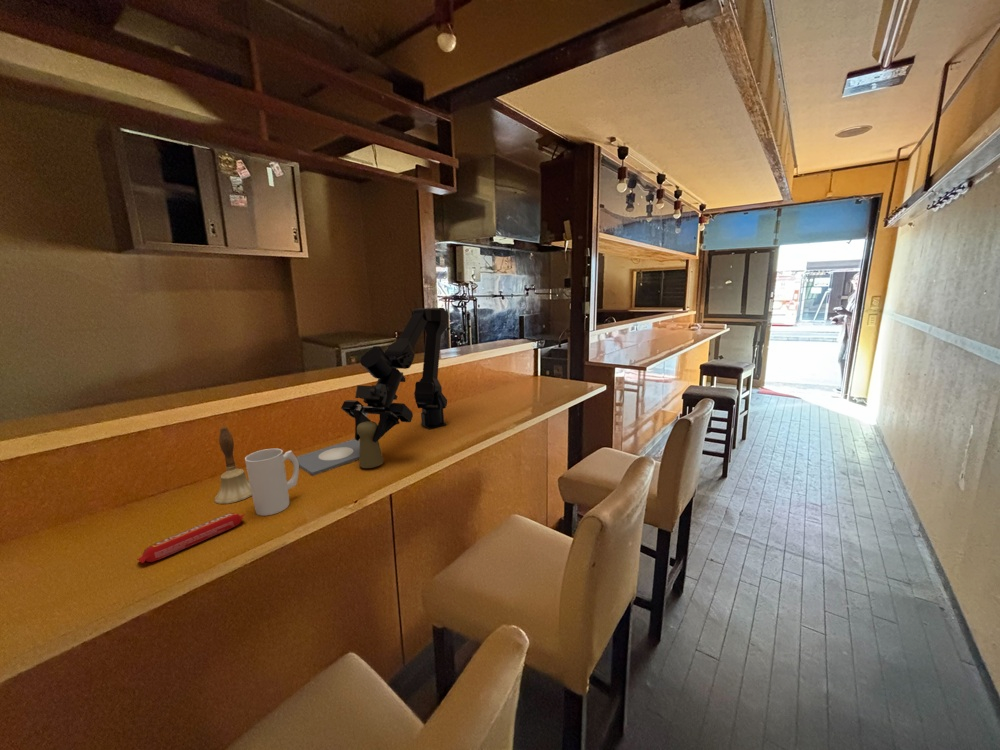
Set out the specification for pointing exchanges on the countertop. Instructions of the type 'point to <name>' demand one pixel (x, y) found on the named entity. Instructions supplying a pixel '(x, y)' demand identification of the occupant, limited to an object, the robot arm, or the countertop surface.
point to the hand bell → (231, 474)
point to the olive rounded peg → (369, 445)
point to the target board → (330, 457)
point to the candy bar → (190, 537)
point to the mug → (270, 479)
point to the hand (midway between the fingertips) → (365, 440)
